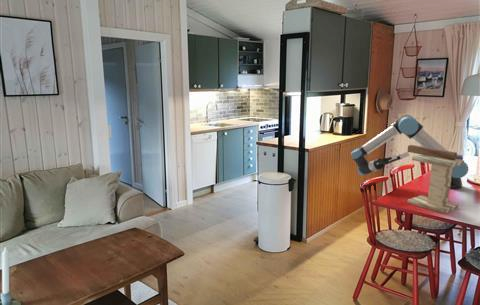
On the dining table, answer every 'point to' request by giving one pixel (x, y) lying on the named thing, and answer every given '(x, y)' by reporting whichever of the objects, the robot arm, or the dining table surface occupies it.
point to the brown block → (432, 152)
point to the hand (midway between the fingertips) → (402, 154)
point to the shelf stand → (437, 184)
